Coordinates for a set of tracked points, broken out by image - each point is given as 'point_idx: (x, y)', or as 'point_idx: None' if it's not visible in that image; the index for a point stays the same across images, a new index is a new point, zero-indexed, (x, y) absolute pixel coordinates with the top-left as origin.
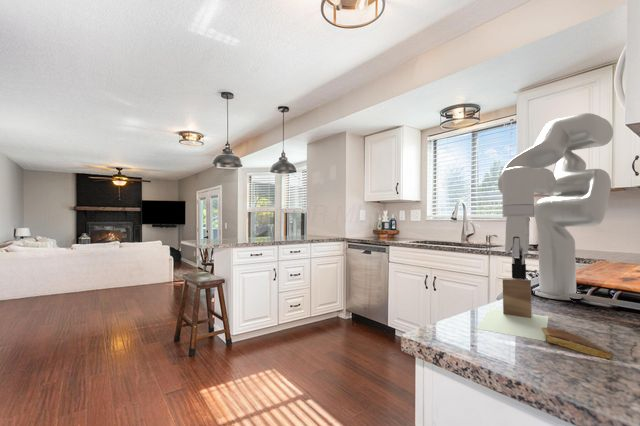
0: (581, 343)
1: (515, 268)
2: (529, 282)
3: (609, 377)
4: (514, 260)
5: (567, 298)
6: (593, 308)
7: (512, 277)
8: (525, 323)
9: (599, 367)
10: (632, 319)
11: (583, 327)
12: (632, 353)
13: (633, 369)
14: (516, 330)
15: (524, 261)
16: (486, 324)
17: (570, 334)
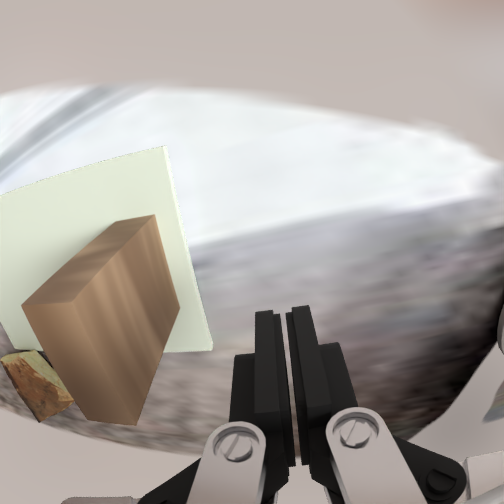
0: (27, 400)
1: (234, 402)
2: (87, 415)
3: (3, 398)
4: (175, 478)
5: (499, 341)
6: (430, 396)
7: (257, 313)
8: None
9: (16, 396)
10: None
11: (198, 406)
12: (105, 439)
13: (47, 424)
14: (12, 295)
15: (325, 488)
16: None
17: (46, 394)
